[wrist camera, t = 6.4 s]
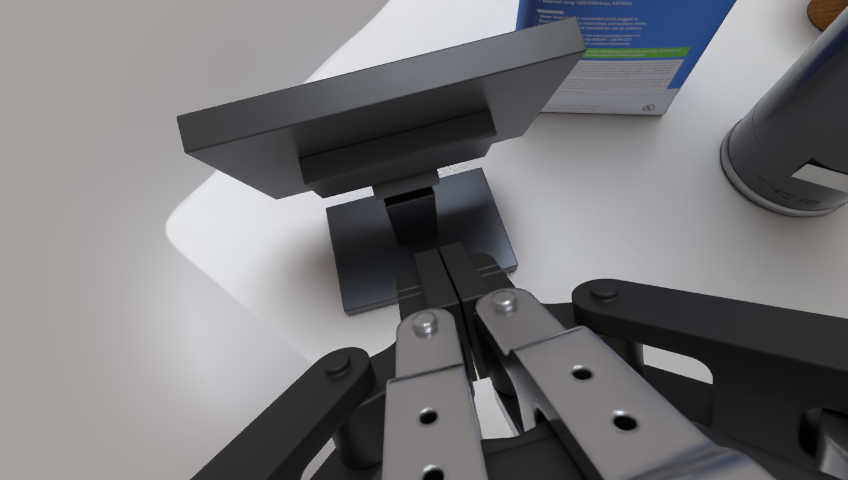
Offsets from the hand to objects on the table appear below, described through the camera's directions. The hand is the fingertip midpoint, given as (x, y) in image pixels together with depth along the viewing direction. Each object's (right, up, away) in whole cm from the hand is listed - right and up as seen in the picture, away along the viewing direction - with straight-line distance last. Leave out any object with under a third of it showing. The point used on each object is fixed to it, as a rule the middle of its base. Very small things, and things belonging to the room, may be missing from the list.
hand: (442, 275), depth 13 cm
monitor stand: (-1, +1, +20) cm, 20 cm away
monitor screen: (-2, +6, +15) cm, 16 cm away
